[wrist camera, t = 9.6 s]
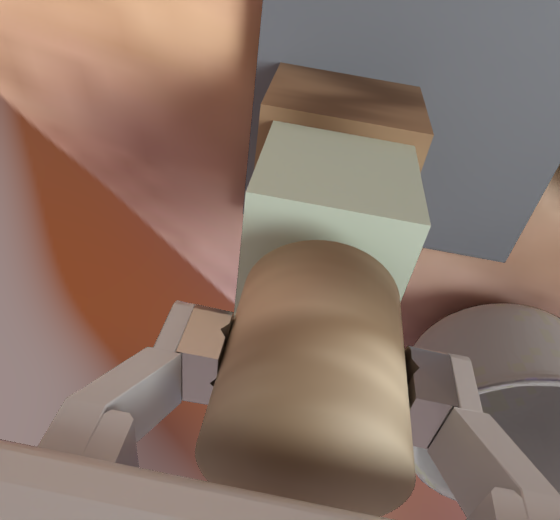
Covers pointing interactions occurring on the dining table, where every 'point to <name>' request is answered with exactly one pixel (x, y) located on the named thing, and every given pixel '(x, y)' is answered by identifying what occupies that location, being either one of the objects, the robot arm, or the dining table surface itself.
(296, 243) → the beech cylinder
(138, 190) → the dining table surface
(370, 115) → the walnut base block
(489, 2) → the slate board
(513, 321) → the teacup
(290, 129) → the sage top block
